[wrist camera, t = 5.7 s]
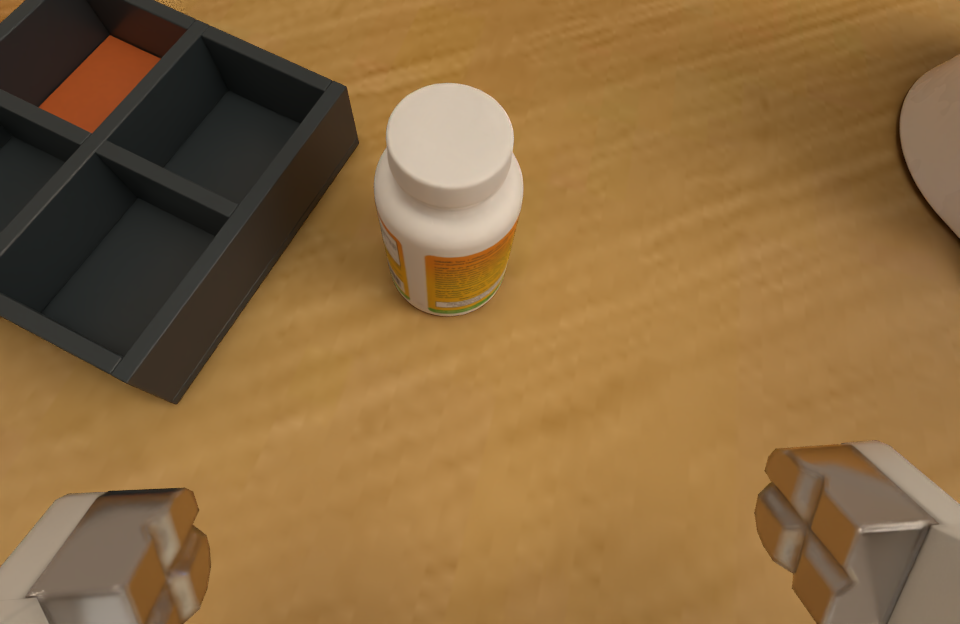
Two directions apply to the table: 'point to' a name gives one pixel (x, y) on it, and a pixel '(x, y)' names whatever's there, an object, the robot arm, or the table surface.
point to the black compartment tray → (150, 179)
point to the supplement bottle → (448, 197)
